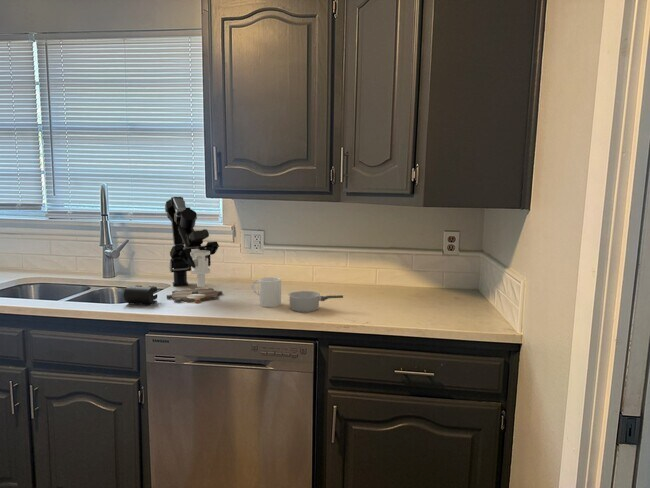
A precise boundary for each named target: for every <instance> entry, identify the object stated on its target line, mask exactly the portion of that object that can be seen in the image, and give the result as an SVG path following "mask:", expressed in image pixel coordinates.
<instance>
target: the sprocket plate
mask: <svg viewBox="0 0 650 488" xmlns="http://www.w3.org/2000/svg"><path fill="white" fill-rule="evenodd" d="M171 292H172V293H171V294H166V300H172V301H174V303H178V304H179V303H181V302H182V303H195V304H199V303H200V304H201V302H205V301H211V300H212V301H213V300H214V301H215V300H219V296H223V291H222V290H216V289H215V288H213V287H208V288H196V287H190V288H188V289H181V290H176V289H175V290H172V291H171Z"/></svg>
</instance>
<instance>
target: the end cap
mask: <svg viewBox="0 0 650 488" xmlns="http://www.w3.org/2000/svg"><path fill="white" fill-rule="evenodd" d="M157 292H158V288H157V286H155V285H153V286H152V285H149V286H142V285H134V286H133V285H131V286H130V285H129V286H126V287H125V288H124V290H123V299H124V302H126V303H127V304H130V303H134V304H133V305H146V304H147V305H151V304H152V305H154V304H156V303H158V301H157V299H158V294H154V293H157ZM130 305H131V304H130ZM147 305H146V306H147ZM152 305H151V306H152Z"/></svg>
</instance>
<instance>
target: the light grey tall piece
mask: <svg viewBox="0 0 650 488" xmlns="http://www.w3.org/2000/svg"><path fill="white" fill-rule="evenodd" d="M190 255H191V257H192V259H193V261H194V263H195V268H191V274H193V275H196V285H197V286H196V287H197V288H205V287H206V275H207V274H210V273H211V269H210V268H209V266H208V258H205V255H210V251H206V250H199V249H191V252H190ZM210 256H211V255H210Z"/></svg>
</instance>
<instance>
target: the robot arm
mask: <svg viewBox="0 0 650 488" xmlns="http://www.w3.org/2000/svg"><path fill="white" fill-rule="evenodd" d="M164 212H165V213H166V216H167V218H168V220H170V222H171V233H172V241H173V245H172V247H171V249H170V251H169V255H170V260H169V272H170V273H173V282H172V286H173V287H178V286H180V287H181V286H189V282H188V275H187V274H188V273H187V272H192V269H194V268H195V263H194V261H193V260H194V259H192V257H191V249H199V250H206V251H210V255H205V258H208V267H210V266H211V262H212V261H211V256H212V255H215V254H216V253H217V250H218V249H219V247H220V245H219V242H218V241H207V243H206V244H205V245H202V244H203V243H204V240H205V239H208V237H210V233H209V231H208V229H205V228H204V229H202V230H195V229H194V228H195V226H196V221H197V219H198V216H197V213H196V211H195V210H194V209H192V208H191V207H189V206H186V201H185V200H184V197H183V196H171V198H170V199H169V200H167V201H165V205H164Z"/></svg>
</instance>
